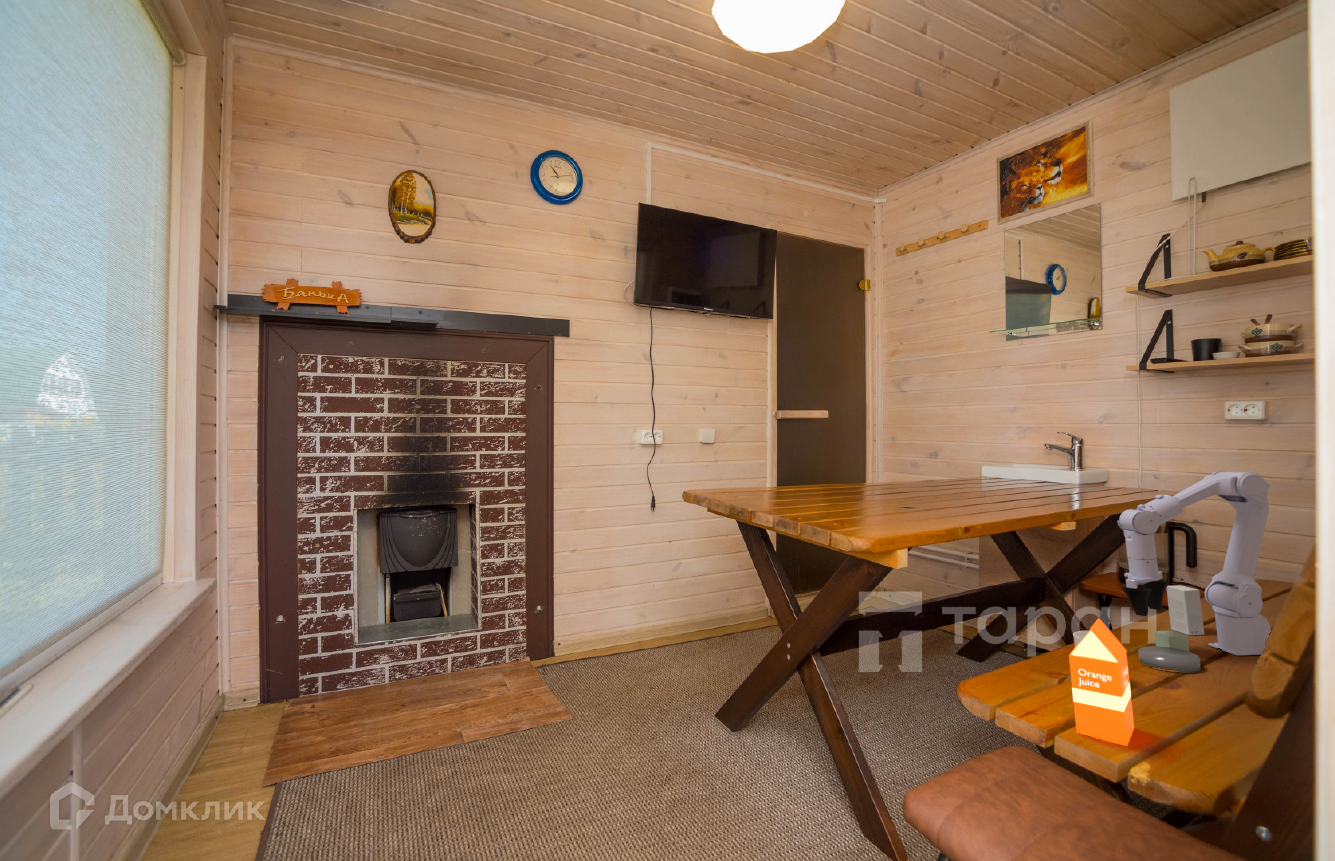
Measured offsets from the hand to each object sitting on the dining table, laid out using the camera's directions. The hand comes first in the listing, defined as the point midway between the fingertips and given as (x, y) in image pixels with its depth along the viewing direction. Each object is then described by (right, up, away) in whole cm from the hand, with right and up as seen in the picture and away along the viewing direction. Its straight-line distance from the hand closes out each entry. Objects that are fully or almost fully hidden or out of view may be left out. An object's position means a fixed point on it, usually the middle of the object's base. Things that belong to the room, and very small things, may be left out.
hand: (1148, 612), depth 145 cm
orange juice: (-38, -11, -37) cm, 54 cm away
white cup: (-23, -11, -14) cm, 29 cm away
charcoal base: (-2, -10, -8) cm, 13 cm away
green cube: (+6, -10, 0) cm, 12 cm away
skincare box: (+21, -10, +13) cm, 26 cm away
